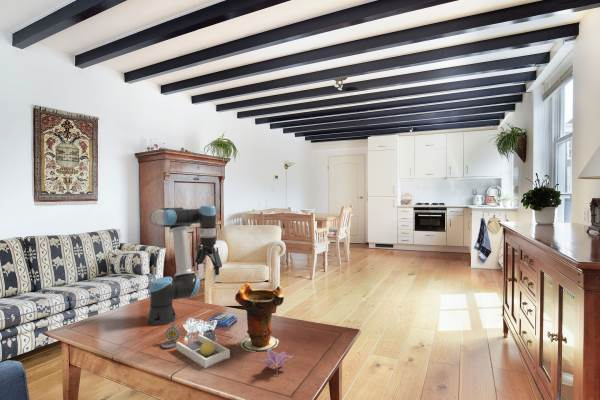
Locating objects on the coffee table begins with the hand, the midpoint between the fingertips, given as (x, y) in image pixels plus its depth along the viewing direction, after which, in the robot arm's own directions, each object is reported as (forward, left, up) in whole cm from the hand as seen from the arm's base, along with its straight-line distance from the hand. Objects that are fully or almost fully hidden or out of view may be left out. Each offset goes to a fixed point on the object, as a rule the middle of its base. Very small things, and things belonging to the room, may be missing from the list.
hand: (208, 279), depth 166 cm
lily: (+49, 0, -29) cm, 57 cm away
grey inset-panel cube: (+4, -2, -29) cm, 29 cm away
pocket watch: (-5, -17, -29) cm, 34 cm away
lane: (+14, -12, -29) cm, 34 cm away
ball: (+18, -12, -28) cm, 35 cm away
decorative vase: (+25, +12, -29) cm, 40 cm away
